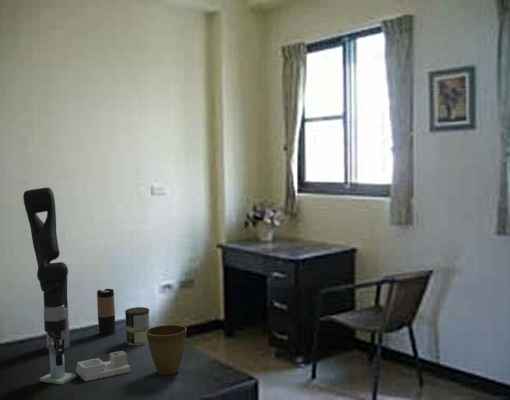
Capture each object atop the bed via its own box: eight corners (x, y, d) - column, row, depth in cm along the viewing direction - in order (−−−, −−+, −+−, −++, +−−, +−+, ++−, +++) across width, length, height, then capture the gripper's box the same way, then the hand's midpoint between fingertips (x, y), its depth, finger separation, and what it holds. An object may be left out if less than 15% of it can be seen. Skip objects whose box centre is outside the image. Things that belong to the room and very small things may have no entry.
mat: (39, 381, 224) (39, 378, 224) (54, 373, 232) (54, 371, 231) (61, 384, 220) (61, 381, 220) (76, 376, 228) (76, 374, 227)
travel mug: (111, 336, 279) (109, 292, 278) (95, 335, 281) (93, 292, 279) (118, 331, 287) (116, 288, 285) (103, 331, 288) (101, 288, 287)
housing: (76, 372, 232) (75, 357, 231) (120, 363, 241) (119, 348, 240) (85, 381, 223) (84, 365, 222) (130, 371, 231) (129, 356, 231)
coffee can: (122, 345, 265) (121, 312, 264) (131, 338, 275) (129, 307, 274) (146, 345, 264) (144, 313, 263) (153, 338, 274) (152, 307, 273)
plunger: (113, 362, 235) (113, 353, 235) (121, 360, 237) (120, 351, 236) (116, 364, 233) (115, 355, 232) (123, 363, 234) (123, 353, 234)
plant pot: (194, 367, 235) (193, 325, 234) (177, 380, 221) (175, 336, 220) (159, 363, 240) (157, 323, 239) (140, 376, 226) (138, 333, 225)
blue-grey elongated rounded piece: (48, 375, 227) (47, 348, 226) (63, 372, 229) (62, 346, 228) (52, 379, 222) (51, 352, 221) (66, 376, 225) (65, 350, 224)
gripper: (39, 315, 228) (41, 359, 230) (49, 323, 216) (51, 370, 217) (60, 312, 232) (62, 355, 234) (70, 320, 220) (72, 366, 221)
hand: (57, 362), depth 225 cm, fingers open, 6 cm apart
